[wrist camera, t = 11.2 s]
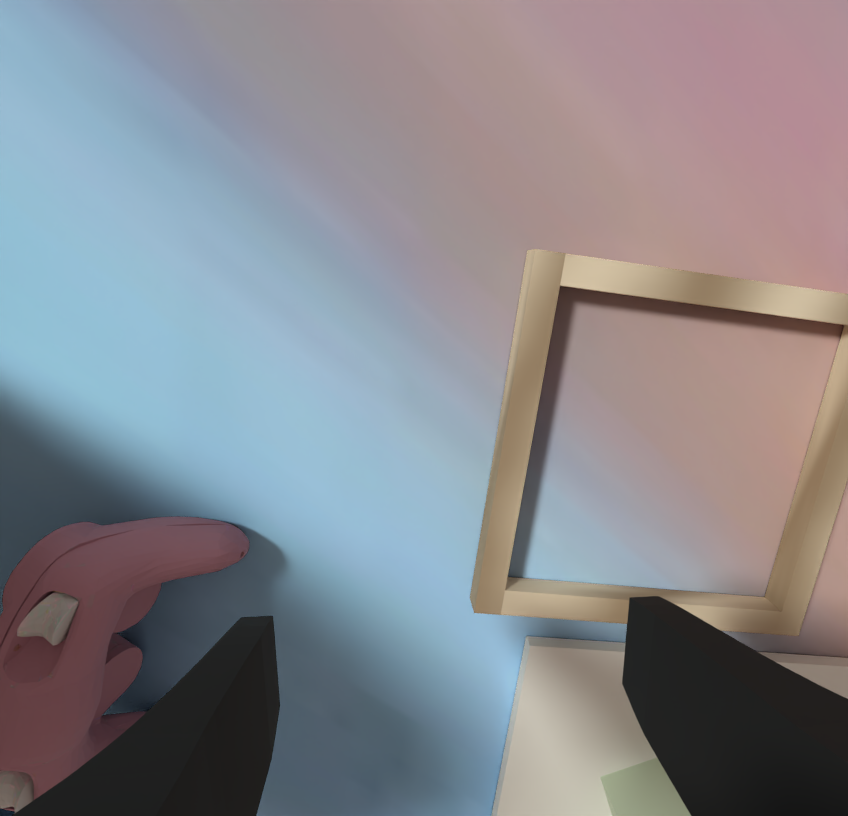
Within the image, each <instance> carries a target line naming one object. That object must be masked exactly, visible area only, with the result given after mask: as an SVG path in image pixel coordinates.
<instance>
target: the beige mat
mask: <svg viewBox="0 0 848 816" xmlns="http://www.w3.org/2000/svg"><path fill="white" fill-rule="evenodd" d="M625 644H626V643H621V642H606V641H591V640H577V639H562V638H547V637H532V636H526V639H525V645H524V650H523V655H522V660H521V665H520V670H519V676H518V681H517V686H516V691H515V696H514V701H513V707H512V712H511V717H510V722H509V727H508V733H507V738H506V743H505V748H504V753H503V758H502V764H501V769H500V774H499V779H498V784H497V789H496V795H495V800H494V805H493V810H492V815H491V816H612V814H611V810H610V807H609V804H608V801H607V797H606V794H605V791H604V788H603V784H602V781H601V778H600V777H601V776H604V775H607V774H610V773H613V772H616V771H619V770H622V769H625V768H628V767H631V766H634V765H637V764H639V763H642V762H645V761H648V760H651V759H654V758H657V756H656V755H655V753H654V751H653V749H652V748H651V746H650V744H649V742H648V741H647V739H646V737H645V735H644V733H643V731H642V729H641V727H640V725H639V722H638V720H637V718H636V716H635V713H634V711H633V709H632V706H631V704H630V702H629V699H628V697H627V694H626V692H625V689H624V687H623V685H622V678H623V667H624V655H625ZM758 653H760V654H762V655H764V656H766V657H767V658H769V659H771V660H773V661H775V662H776V663H778V664H780V665H782V666H784V667H786V668H788V669H789V670H791V671H793V672H795V673H797V674H799V675H801V676H803V677H805V678H807V679H809V680H811V681H812V682H814V683H816V684H818V685H820V686H822V687H824V688H826V689H828V690H830V691H832V692H834V693H837V694H839V695H841V696H843V697H845V698H847V699H848V658H842V657H827V656H812V655H797V654H783V653H768V652H758Z"/></svg>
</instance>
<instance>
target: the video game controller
mask: <svg viewBox="0 0 848 816" xmlns="http://www.w3.org/2000/svg"><path fill="white" fill-rule="evenodd" d="M248 550H249V540H248V538H247V537H246V535H245V534H244V533H243V532H242V531H241V529H239V528H238V527H236V526H234V525H231V524H229V523H225V522H222V521H218V520H211V519H205V518H198V517H180V516H175V517H156V518H148V519H142V520H135V521H129V522H122V523H116V524H109V525H103V526H102V525H99V524H95V523H92V522H79V523H74V524H70V525H67V526H64V527H61V528H59V529H57V530H55V531H53V532H52V533H50V534H48V535H47V536H45V537H44V538H43V539H41V540H40V541H39V542H38V543H36V544H35V545H34V546H33V547H32V548H31V549H30V550H29V551H28V552H27V553H26V555H25V556H24V557H23V558H22V560H21V561H20V562H19V564H18V565H17V566H16V567H15V569H14V570H13V571H12V573H11V575H10V577H9V579H8V581H7V583H6V585H5V588H4V591H3V599H2V603H3V612H2V614H1V616H0V808H1V809H5V810H10V811H14V812H15V813H16V812H18V811H19V810H20V809H22V808H23V807H25V806H26V805H28V804H29V803H31V802H32V801H33V800H35V799H36V798H38V797H39V796H41V795H42V794H44V793H45V792H46V791H48V790H49V789H51V788H52V787H54V786H55V785H57V784H58V783H59V782H61V781H62V780H64V779H65V778H67V777H68V776H69V775H71V774H72V773H73V772H75V771H76V770H77V769H79V768H80V767H81V766H83V765H84V764H85V763H86V762H88V761H89V760H90V759H91V758H93V757H94V756H95V755H97V754H98V753H99V752H100V751H102V750H103V749H104V748H106V747H107V746H108V745H109V744H111V743H112V742H113V741H114V740H115V739H117V738H118V737H119V736H120V735H121V734H123V733H124V732H125V731H126V730H127V729H128V728H130V727H131V726H132V725H133V724H134V723H135V722H136V721H138V720H139V719H140V718H141V717H142V716H143V715H144V714H145V713H146V711H138V712H129V713H120V714H110V715H103V714H104V712H105V711H106V710H107V709H108V708H109V707H110V706H111V705H112V704H113V703H114V702H115V701H116V700H117V699H118V698H119V697H120V696H121V695H122V694H123V693H124V692H125V691H126V690H127V688H128V687H129V686H130V685H131V684H132V682H133V681H134V680H135V678H136V676H137V674H138V672H139V670H140V668H141V665H142V660H143V655H142V651H141V650H140V649H139V648H138V647H136V646H135V645H133V644H132V643H130V642H129V641H127V640H126V639H125V638H123V637H122V636H120V635H119V634H116V633H117V632H122V631H124V630H126V629H128V628H130V627H131V626H133V625H135V624H137V623H138V622H139V621H140V620H141V619H142V618H143V617H144V616H145V615H146V614H147V613H148V612H149V610H150V609H151V607H152V606H153V604H154V603H155V601H156V599H157V597H158V594H159V592H160V589H161V583H163V582H167V581H170V580H174V579H180V578H185V577H190V576H195V575H200V574H206V573H211V572H216V571H220V570H222V569H224V568H226V567H228V566H230V565H232V564H235V563H237V562H238V561H240V560H241V559H242V558H243V557H244V556H245V555H246V554H247V552H248ZM102 715H103V716H102Z"/></svg>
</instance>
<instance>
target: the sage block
mask: <svg viewBox="0 0 848 816" xmlns="http://www.w3.org/2000/svg"><path fill="white" fill-rule="evenodd" d="M600 778H601V781H602V784H603V788H604V791H605V794H606V797H607V801H608V804H609V807H610V810H611V814H612V816H691V815H690V813H689V811H688V809H687V808H686V806H685V804H684V803H683V801H682V799H681V798H680V796H679V794H678V792H677V791H676V789H675V787H674V786H673V784H672V782H671V780H670V779H669V777H668V775H667V774H666V772H665V770H664V768H663V767H662V765H661V763H660V762H659V760H658V758H654V759H651V760H648V761H645V762H642V763H639V764H637V765H634V766H631V767H628V768H625V769H622V770H619V771H616V772H613V773H610V774H607V775H604V776H601V777H600Z"/></svg>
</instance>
